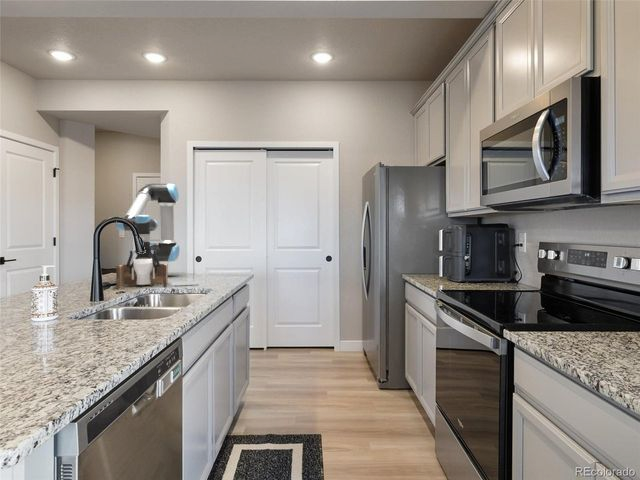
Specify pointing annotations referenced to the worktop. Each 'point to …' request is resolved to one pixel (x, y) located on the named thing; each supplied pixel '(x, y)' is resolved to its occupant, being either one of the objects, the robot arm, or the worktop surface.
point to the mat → (185, 283)
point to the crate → (126, 278)
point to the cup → (143, 270)
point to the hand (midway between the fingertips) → (143, 278)
